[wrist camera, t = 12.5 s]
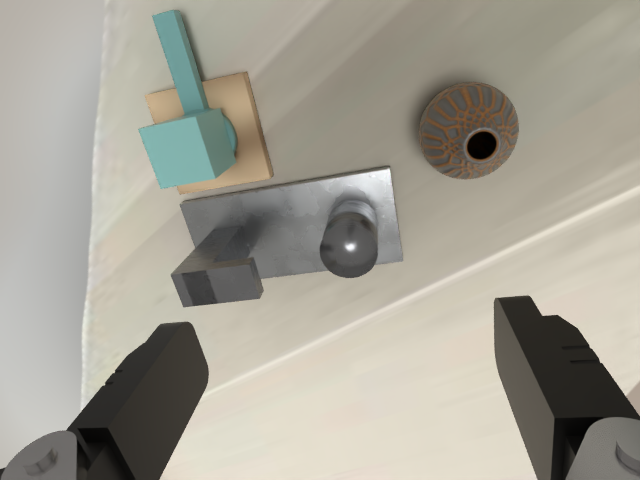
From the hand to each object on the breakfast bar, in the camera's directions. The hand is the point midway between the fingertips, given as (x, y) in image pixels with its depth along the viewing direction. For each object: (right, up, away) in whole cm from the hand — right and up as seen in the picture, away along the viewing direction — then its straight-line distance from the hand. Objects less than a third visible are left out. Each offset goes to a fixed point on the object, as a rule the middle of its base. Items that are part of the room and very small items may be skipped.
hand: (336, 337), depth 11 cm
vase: (+11, +12, +23) cm, 28 cm away
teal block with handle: (-11, +15, +24) cm, 30 cm away
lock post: (-3, +4, +29) cm, 29 cm away
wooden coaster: (-10, +12, +26) cm, 30 cm away
